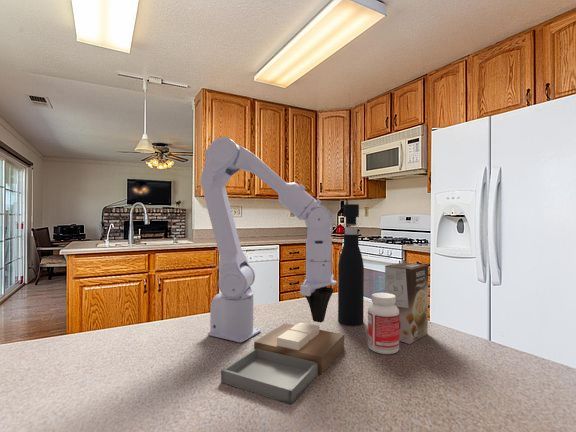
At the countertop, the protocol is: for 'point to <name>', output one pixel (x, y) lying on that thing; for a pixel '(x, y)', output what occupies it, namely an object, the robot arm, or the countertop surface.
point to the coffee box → (409, 298)
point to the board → (306, 346)
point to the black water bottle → (351, 273)
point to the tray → (271, 374)
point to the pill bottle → (383, 324)
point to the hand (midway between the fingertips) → (318, 321)
